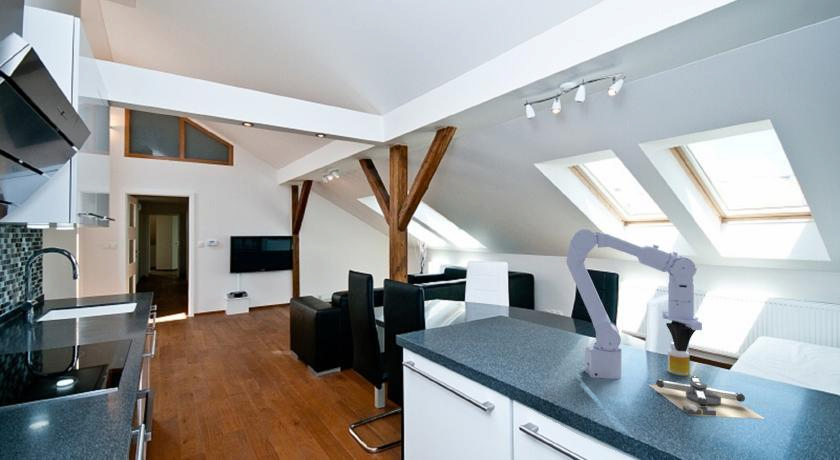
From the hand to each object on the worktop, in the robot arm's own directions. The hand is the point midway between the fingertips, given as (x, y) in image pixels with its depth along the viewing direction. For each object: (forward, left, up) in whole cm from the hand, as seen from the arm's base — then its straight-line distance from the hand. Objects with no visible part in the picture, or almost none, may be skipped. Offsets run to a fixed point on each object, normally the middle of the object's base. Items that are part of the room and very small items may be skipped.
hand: (680, 350), depth 105 cm
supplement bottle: (+5, +10, -11) cm, 15 cm away
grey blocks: (-6, -18, -9) cm, 21 cm away
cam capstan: (-1, -9, -9) cm, 13 cm away
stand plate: (-1, -10, -10) cm, 14 cm away
